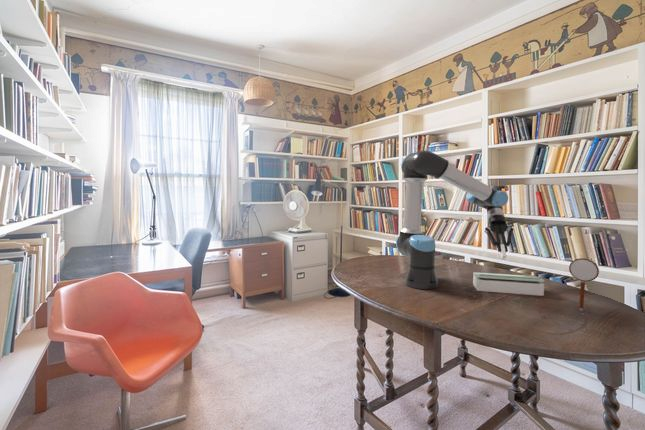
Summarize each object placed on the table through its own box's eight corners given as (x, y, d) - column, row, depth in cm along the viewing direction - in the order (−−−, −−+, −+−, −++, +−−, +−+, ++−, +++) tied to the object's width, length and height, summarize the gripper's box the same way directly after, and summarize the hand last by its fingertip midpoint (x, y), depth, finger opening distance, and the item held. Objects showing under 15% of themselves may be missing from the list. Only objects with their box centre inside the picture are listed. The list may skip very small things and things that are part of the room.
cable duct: (477, 290, 141) (477, 279, 140) (473, 284, 150) (473, 274, 150) (543, 295, 133) (544, 284, 133) (534, 288, 143) (535, 278, 142)
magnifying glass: (596, 313, 114) (600, 260, 113) (595, 314, 113) (599, 260, 112) (567, 306, 121) (570, 256, 119) (566, 307, 120) (569, 256, 118)
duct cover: (477, 277, 140) (477, 274, 140) (473, 273, 150) (473, 271, 150) (544, 281, 133) (544, 278, 133) (535, 277, 142) (535, 274, 143)
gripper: (509, 223, 161) (517, 262, 147) (481, 222, 165) (487, 260, 151) (512, 214, 156) (521, 253, 141) (483, 213, 160) (490, 252, 145)
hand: (503, 257), depth 146 cm, fingers closed
